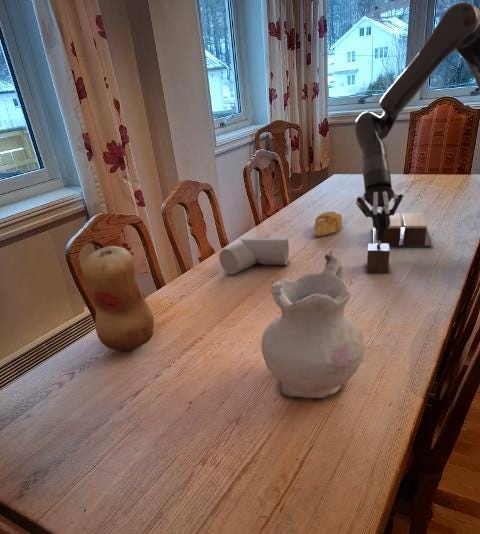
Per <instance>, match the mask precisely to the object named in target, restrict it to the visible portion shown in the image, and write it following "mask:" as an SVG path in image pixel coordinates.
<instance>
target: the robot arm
mask: <svg viewBox="0 0 480 534" xmlns="http://www.w3.org/2000/svg"><path fill="white" fill-rule="evenodd" d="M454 51H456V52H457V53H458V54H459V55H460V57H461V58H462V59H463V61H464V62H465V63H466V64H467V66H468V67H469V69H470V71H471V73H472V75H473V78H474V81H475V83H476V85H477V87H478V90H479V91H480V9H479V8H478V6H476V5H475V4H473V3H471V2H467V1H461V2H457V3H455V4H453V5H451V6H450V7H449V8H447V9H446V10H445V12H444V13H443V15H442V17H441V18H440V20H439V21H438V23H437V25H436V26H435V28H434V29H433V31H432V33H431V34H430V36H429V37H428V39H427V41H426V42H425V43H424V45H423V46H422V48H421V49H420V50H419V52H418V53H417V55H416V56H415V57H414V58H413V59H412V61H411V62H410V63H409V64H408V66H407V67H406V68H405V69H404V70H403V71H402V73H401V74H400V75H399V76H398V77H397V79H396V80H395V81H394V83H393V84H391V86H390V87H389V88H388V89H387V91H386V92H385V93H384V94H383V96H382V97H381V98H380V100H379V106H380V108H381V110H382V111H383V113H382V115H381V116H379V115H377V114H375V113H374V112H371V111H364V112H362V113H361V114H359V116H358V117H357V118H356V120H355V124H354V134H355V137H356V141H357V142H358V145H359V148H360V150H361V152H362V164H363V165H362V166H363V167H362V178H363V185H364V187H363V188H364V193H363V195H362V196H361V197H360V196H358V197H357V198H356V201H355V202H356V203H355V204H356V206H357V207H358V208H359V209H360V211H361V213H362V214H363V215H364V216H365V217H366V218H371V221H372V227H373V228H375V229H376V230H378V229H379V218H378V215H377V211H378V208H381V211H384V212H385V213H386V216H385V229H387V228H388V227H389V226H390V216H393V215H394V214H395V213H397V212H396V211H397V210H398V208H399V205H400V204H401V202H402V200H403V198H404V195H403V194H402V193H400V194H398V193H395V192H394V189H393V187H392V186H393V185H392V177H391V168H390V167H391V166H390V162H389V158H388V150H387V145H386V143H385V141H384V140H385V139H386V138H388V136H389V134H390V133H391V131H392V129H393V127H394V125H395V124H396V121H397V119H398V118H399V116H400V114H401V113H402V112H403V110H404V109H405V108H407V106H408V105H409V104H410V103H411V101H413V99H414V98H415V97H416V96H417V95H418V93H419V91H420V90H421V89H422V88H423V86H424V85H425V84H426V82H427V81H428V79H429V78H430V77H431V75H432V74H433V73H434V71H436V69H437V68H438V67H439V66H440V65H441V64H442V62H443V61H444V60H445V59H446V58H447V57H449V56H450V55H451V54H452V53H453V52H454ZM392 199H393V203H394V204H393V205H392V207H391V208H390V204H389V203H390V202H391V200H392ZM366 202H367V203H366ZM367 204H369V205H370V206H371V207H370V208H369V206H368V205H367Z"/></svg>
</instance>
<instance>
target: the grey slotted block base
mask: <svg viewBox="0 0 480 534" xmlns="http://www.w3.org/2000/svg"><path fill="white" fill-rule="evenodd" d="M427 230H428V224H427V221H426V219H425V215H424V213H423V212H403V213H402V215H401V217H400V213H399V212H395V214H394V215H393V216H390V226H389V227H388V228H387V229H384V240H382V241H381V244H389V248H428V249H429V248H431V246H432V245H431V241H430V239H429V236H428V233H427ZM372 235H373V237H372V238H373V239H372V240H373V241H372V242H373V243H372V244H378V241H377V239H376V229H375V228H374V227H373V228H372Z"/></svg>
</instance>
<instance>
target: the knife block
mask: <svg viewBox="0 0 480 534" xmlns="http://www.w3.org/2000/svg"><path fill="white" fill-rule="evenodd" d="M377 248H378V244H373V243H372V242H371V243H368V244H367V257H366V258H367V259H366V273H370V274H371V273H375V274H377V273H378V274H388V273H389V263H390V253H391V250H390V247H389V244H381V245H380V249H377Z"/></svg>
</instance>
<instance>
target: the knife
mask: <svg viewBox="0 0 480 534" xmlns="http://www.w3.org/2000/svg"><path fill="white" fill-rule="evenodd" d="M377 215H378V218H379V229H378V230H376V239H377V241H378V248H377V249H380V245H381V241H382V240H384V229H385V216H386V213H385V212H384V211H382V210H377Z"/></svg>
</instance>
